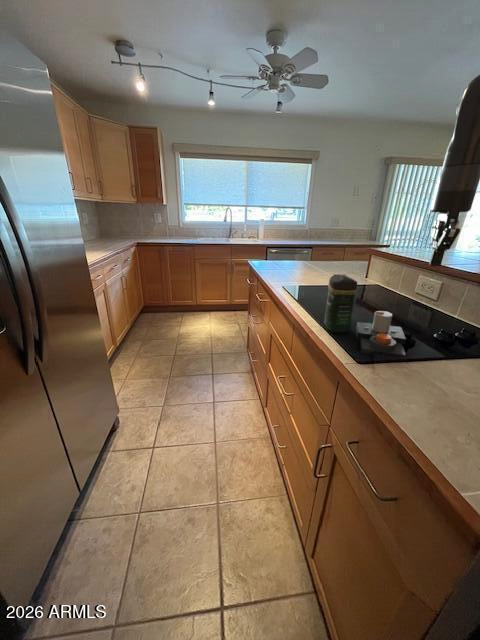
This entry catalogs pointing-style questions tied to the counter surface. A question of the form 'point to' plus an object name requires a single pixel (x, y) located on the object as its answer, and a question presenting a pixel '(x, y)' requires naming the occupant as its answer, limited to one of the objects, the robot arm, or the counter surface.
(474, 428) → the counter surface
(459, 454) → the counter surface
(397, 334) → the fryer panel
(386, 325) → the timer knob
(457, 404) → the counter surface
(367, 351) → the power block
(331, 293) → the coffee jar
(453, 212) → the robot arm
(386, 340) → the power button
